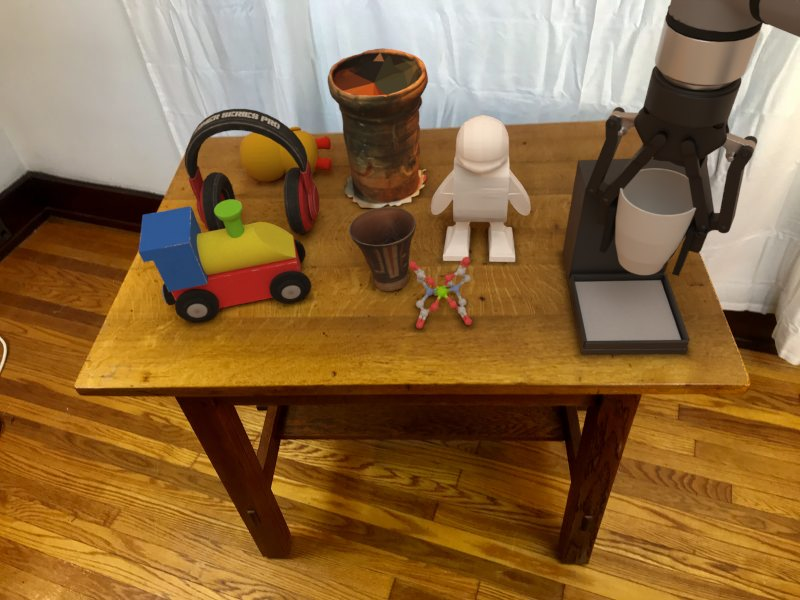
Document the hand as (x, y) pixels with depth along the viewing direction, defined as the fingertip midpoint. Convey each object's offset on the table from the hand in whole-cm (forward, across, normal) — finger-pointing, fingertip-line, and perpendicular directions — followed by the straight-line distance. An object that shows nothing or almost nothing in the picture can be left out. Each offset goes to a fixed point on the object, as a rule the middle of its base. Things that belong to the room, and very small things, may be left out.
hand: (641, 256), depth 72 cm
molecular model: (+11, +21, +10) cm, 26 cm away
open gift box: (+11, +1, -3) cm, 11 cm away
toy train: (+11, +48, +20) cm, 53 cm away
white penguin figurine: (+11, +23, -5) cm, 26 cm away
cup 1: (+11, +31, +8) cm, 34 cm away
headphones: (+11, +54, +7) cm, 55 cm away
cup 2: (+1, 0, 0) cm, 1 cm away
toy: (+11, +59, -6) cm, 60 cm away
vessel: (+11, +42, -11) cm, 45 cm away
